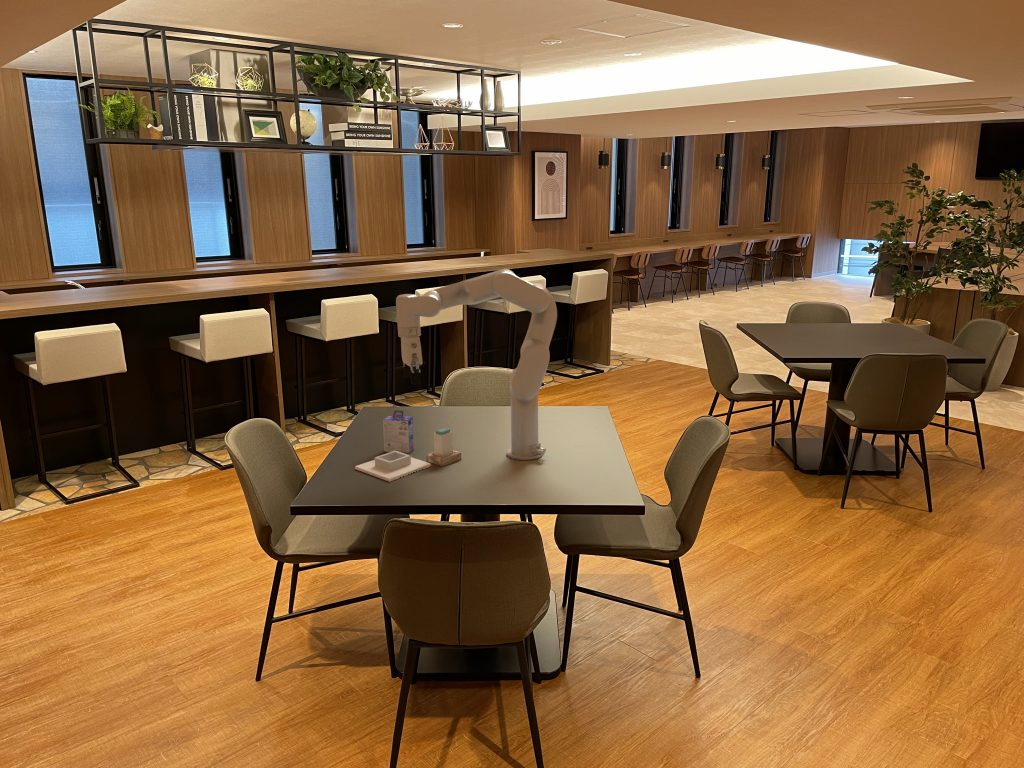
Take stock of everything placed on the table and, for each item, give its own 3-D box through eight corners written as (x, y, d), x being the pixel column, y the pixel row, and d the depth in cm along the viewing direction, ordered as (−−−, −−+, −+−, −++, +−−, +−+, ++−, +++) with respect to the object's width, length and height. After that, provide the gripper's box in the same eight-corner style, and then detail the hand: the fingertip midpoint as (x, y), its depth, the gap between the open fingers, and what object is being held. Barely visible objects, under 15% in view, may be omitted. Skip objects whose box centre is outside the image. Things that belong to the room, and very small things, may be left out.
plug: (453, 459, 268) (452, 429, 266) (442, 463, 265) (441, 432, 262) (445, 457, 271) (444, 427, 268) (434, 460, 267) (433, 430, 264)
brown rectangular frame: (461, 459, 268) (461, 452, 268) (442, 466, 262) (442, 459, 261) (445, 454, 274) (445, 447, 273) (426, 461, 267) (426, 454, 266)
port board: (431, 466, 262) (430, 455, 261) (389, 481, 249) (388, 470, 248) (396, 454, 274) (395, 444, 273) (355, 469, 261) (354, 457, 260)
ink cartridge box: (415, 448, 280) (413, 410, 277) (410, 453, 275) (408, 414, 271) (389, 447, 282) (387, 409, 279) (383, 452, 277) (381, 413, 273)
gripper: (427, 334, 253) (430, 385, 258) (413, 326, 269) (416, 374, 273) (404, 336, 251) (408, 387, 255) (392, 328, 266) (395, 376, 271)
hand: (412, 380), depth 264 cm, fingers open, 9 cm apart
